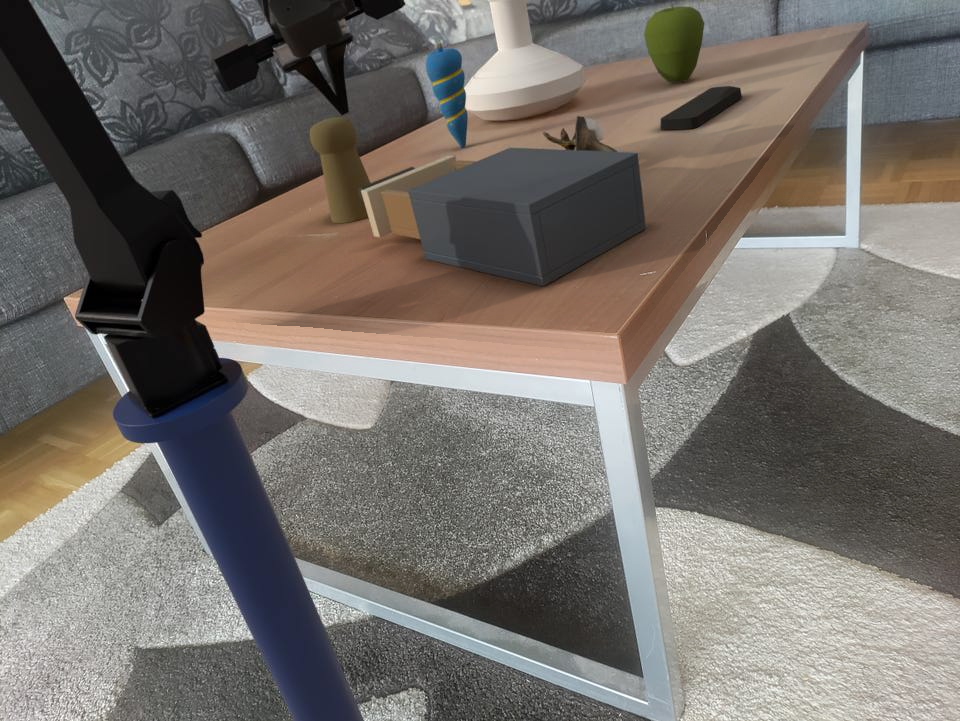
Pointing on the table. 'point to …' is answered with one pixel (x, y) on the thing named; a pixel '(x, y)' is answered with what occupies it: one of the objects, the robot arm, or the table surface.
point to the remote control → (701, 108)
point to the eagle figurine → (582, 137)
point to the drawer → (401, 196)
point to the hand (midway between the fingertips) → (344, 113)
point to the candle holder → (520, 71)
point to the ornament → (449, 89)
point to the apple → (675, 41)
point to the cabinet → (530, 211)
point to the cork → (340, 168)
